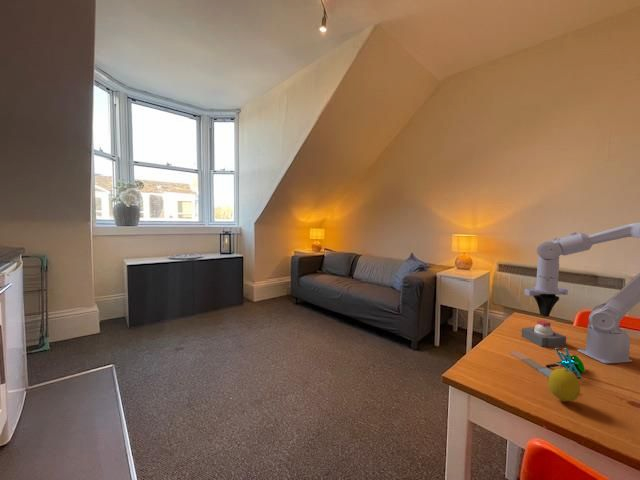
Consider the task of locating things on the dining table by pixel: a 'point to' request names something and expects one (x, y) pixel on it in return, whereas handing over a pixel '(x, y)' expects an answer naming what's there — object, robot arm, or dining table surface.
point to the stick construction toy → (569, 363)
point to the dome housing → (543, 338)
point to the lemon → (564, 385)
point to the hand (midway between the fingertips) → (544, 315)
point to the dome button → (543, 328)
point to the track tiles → (531, 363)
